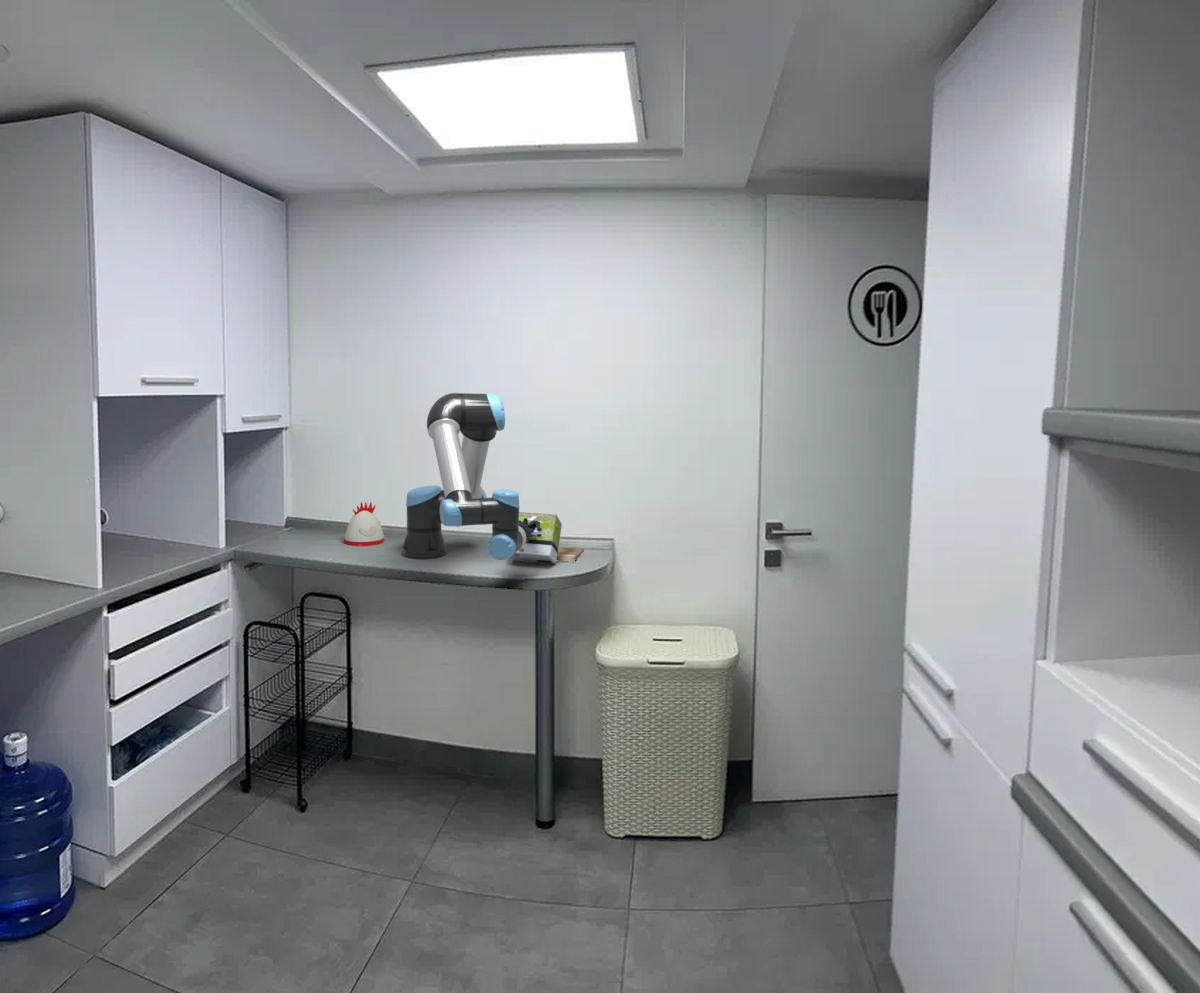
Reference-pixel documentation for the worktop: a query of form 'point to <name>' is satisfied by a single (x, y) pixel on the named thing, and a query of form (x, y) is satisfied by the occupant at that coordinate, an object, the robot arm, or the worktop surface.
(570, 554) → the tan flat board
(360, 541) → the kitchen timer
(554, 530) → the tea box
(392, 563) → the worktop surface
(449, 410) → the robot arm
